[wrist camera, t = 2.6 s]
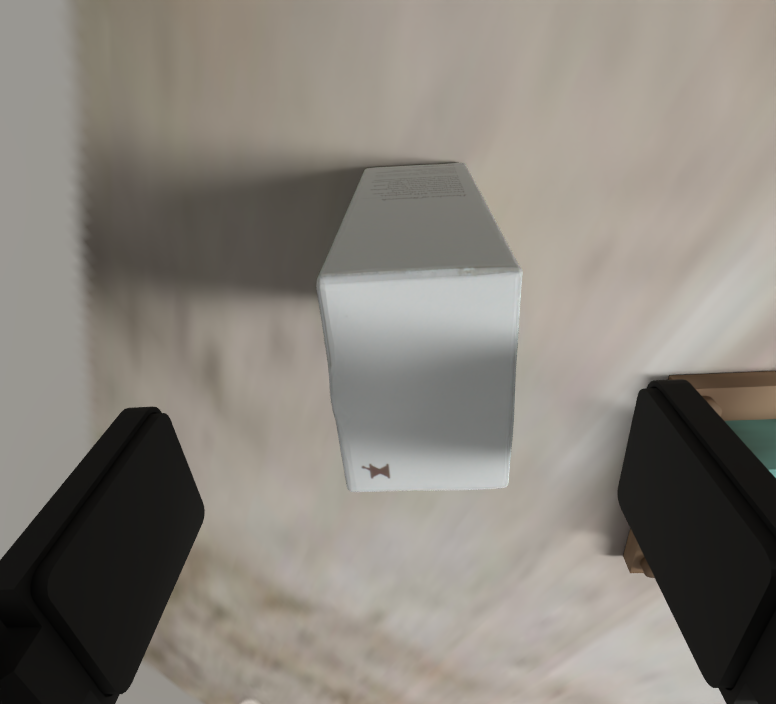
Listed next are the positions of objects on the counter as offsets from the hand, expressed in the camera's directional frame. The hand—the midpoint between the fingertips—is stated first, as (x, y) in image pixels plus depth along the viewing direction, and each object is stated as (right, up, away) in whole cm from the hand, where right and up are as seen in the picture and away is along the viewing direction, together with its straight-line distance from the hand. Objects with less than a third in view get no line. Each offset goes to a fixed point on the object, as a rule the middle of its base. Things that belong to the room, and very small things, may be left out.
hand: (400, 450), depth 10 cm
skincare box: (+1, +7, +11) cm, 13 cm away
